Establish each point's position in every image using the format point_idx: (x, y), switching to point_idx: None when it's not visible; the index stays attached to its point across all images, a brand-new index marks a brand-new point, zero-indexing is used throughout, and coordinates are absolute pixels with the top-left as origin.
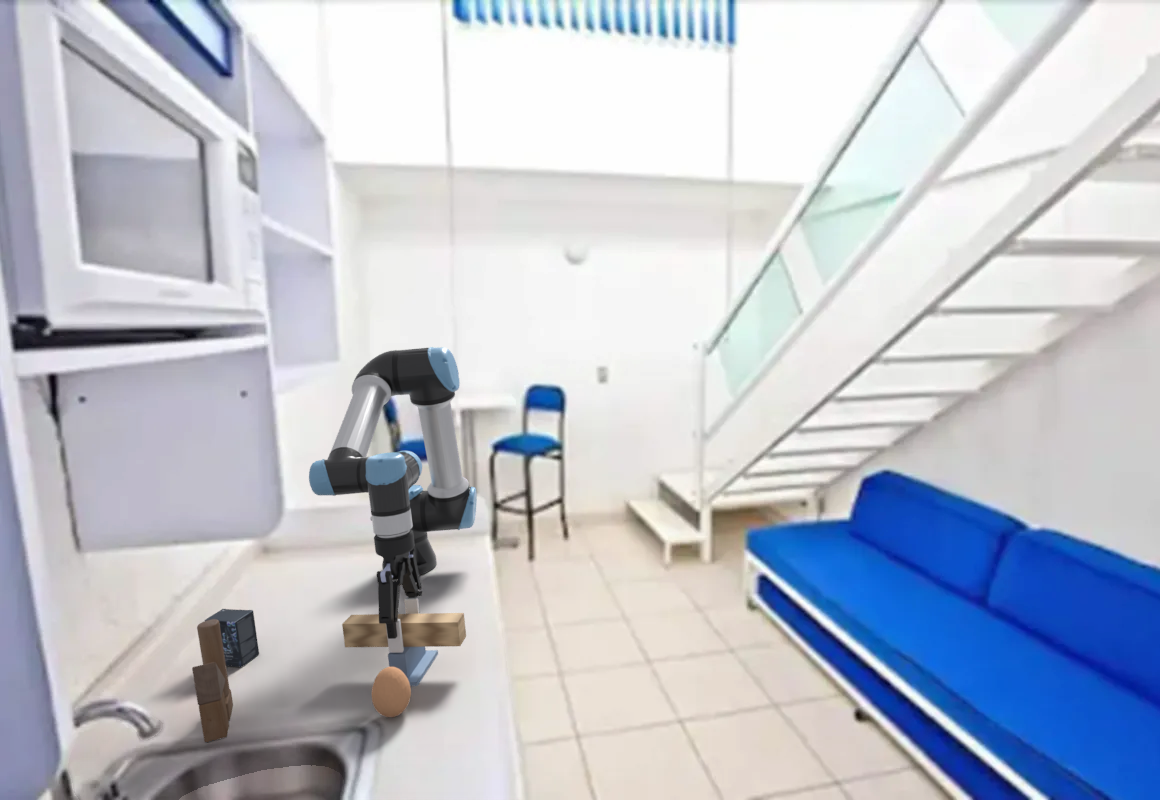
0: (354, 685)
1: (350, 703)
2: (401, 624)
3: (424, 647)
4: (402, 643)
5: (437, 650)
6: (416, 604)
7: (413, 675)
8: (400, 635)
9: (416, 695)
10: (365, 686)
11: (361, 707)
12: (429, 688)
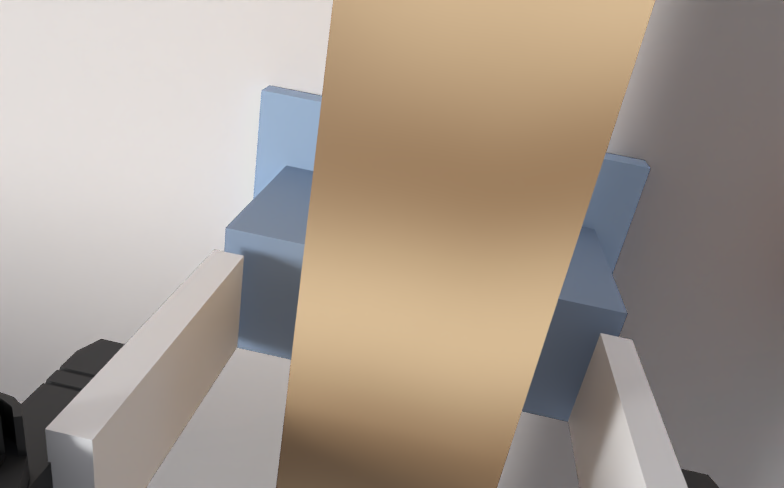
0: (527, 467)
1: (695, 462)
2: (499, 472)
3: (284, 181)
4: (622, 374)
5: (265, 91)
6: (131, 400)
7: None
8: (666, 441)
9: (756, 149)
10: (552, 422)
11: (758, 413)
12: (700, 77)
